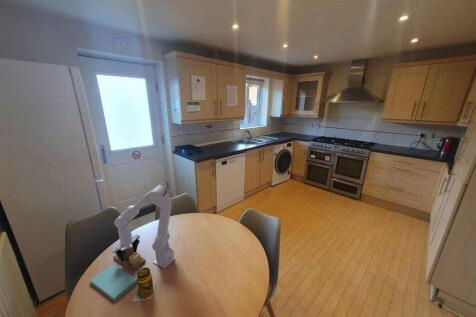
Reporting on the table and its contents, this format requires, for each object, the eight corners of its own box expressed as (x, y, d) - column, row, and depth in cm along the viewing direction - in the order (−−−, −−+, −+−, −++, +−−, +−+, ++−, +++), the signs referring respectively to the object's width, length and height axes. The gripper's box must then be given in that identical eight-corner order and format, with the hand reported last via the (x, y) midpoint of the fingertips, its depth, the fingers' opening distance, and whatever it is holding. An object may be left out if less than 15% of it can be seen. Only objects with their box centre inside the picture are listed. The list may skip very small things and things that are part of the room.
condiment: (152, 298, 85) (149, 276, 82) (132, 302, 83) (128, 280, 80) (155, 284, 92) (153, 263, 89) (137, 287, 90) (133, 266, 87)
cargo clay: (141, 260, 104) (140, 254, 103) (134, 265, 101) (133, 259, 100) (136, 257, 106) (135, 251, 105) (129, 262, 102) (128, 256, 101)
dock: (137, 282, 93) (137, 279, 92) (114, 301, 83) (113, 298, 83) (113, 267, 101) (113, 264, 101) (90, 283, 92) (89, 280, 92)
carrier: (145, 262, 105) (143, 250, 103) (133, 271, 99) (131, 258, 97) (125, 251, 113) (123, 240, 111) (113, 259, 107) (111, 247, 105)
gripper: (133, 226, 110) (136, 245, 114) (107, 240, 98) (111, 262, 101) (141, 229, 107) (143, 249, 110) (115, 244, 95) (119, 267, 98)
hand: (128, 256), depth 105 cm, fingers open, 7 cm apart
